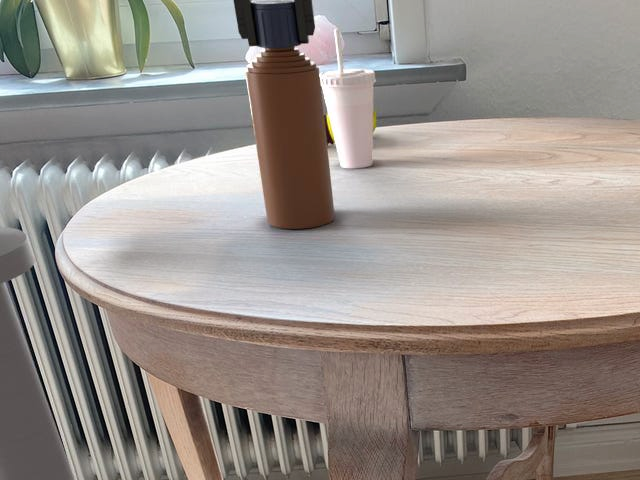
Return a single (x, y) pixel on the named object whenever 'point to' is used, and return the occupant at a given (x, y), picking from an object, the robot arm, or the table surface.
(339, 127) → the smoothie
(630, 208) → the table surface
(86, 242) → the table surface
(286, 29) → the cap
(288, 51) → the bottle
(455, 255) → the table surface
